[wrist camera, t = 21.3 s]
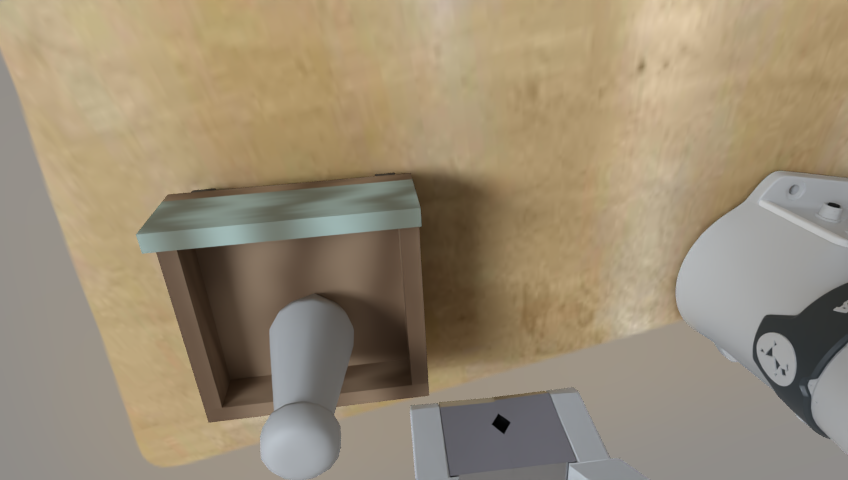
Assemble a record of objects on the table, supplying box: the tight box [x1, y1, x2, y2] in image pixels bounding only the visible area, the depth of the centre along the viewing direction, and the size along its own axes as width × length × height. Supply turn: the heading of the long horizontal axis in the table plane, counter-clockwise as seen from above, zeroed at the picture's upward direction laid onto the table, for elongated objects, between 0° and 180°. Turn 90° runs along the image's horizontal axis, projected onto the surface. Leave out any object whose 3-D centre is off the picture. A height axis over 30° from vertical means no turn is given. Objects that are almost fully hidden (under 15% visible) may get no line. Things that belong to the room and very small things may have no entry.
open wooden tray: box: [136, 173, 429, 422], centre depth 39 cm, size 16×16×9 cm
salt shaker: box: [260, 293, 354, 480], centre depth 34 cm, size 6×6×13 cm
